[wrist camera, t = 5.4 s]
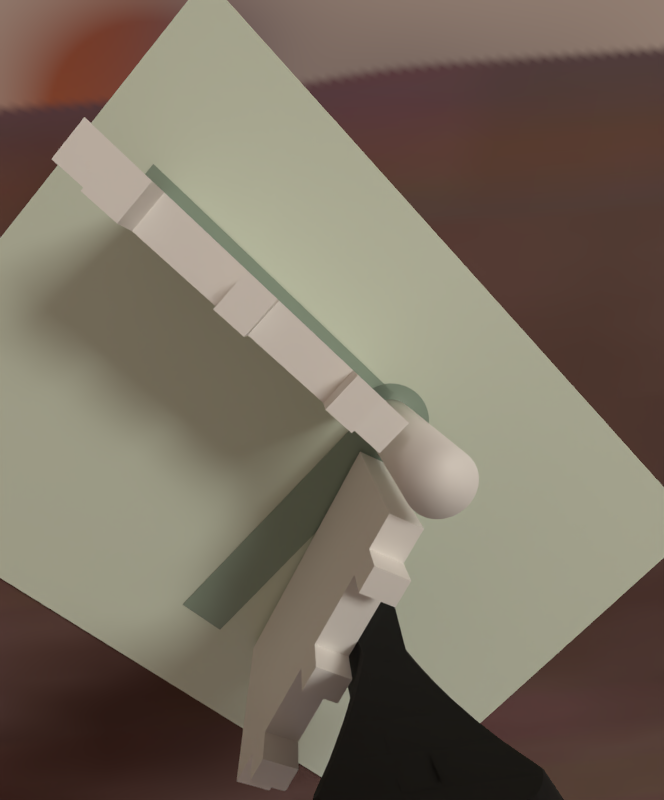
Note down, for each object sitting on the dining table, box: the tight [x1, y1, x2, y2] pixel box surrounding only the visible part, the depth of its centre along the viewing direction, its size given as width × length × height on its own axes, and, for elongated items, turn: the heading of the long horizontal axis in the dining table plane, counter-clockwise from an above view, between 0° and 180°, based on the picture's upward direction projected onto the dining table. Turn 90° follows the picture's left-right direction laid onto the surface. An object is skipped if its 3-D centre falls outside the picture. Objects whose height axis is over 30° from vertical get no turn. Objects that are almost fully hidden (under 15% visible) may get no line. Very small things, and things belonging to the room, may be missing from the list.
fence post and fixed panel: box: [52, 117, 479, 519], centre depth 9 cm, size 2×10×5 cm, turn 47°
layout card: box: [0, 0, 664, 777], centre depth 13 cm, size 17×23×1 cm
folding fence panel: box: [237, 452, 424, 791], centre depth 11 cm, size 8×1×5 cm, turn 153°
